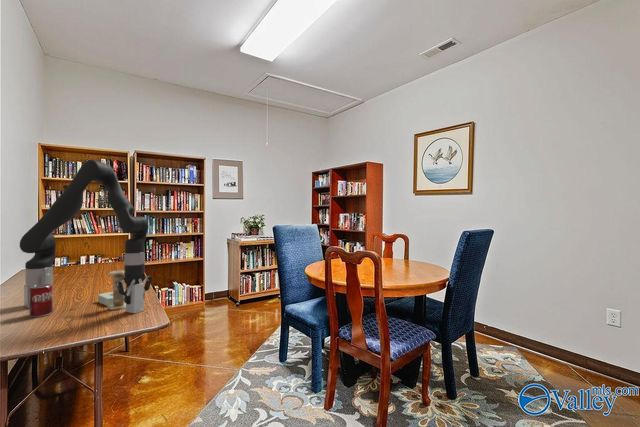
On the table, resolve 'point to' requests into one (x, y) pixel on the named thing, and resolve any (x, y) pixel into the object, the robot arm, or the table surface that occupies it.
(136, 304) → the skincare box
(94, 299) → the table surface
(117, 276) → the bobbin
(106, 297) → the notched board
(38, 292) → the soda can
